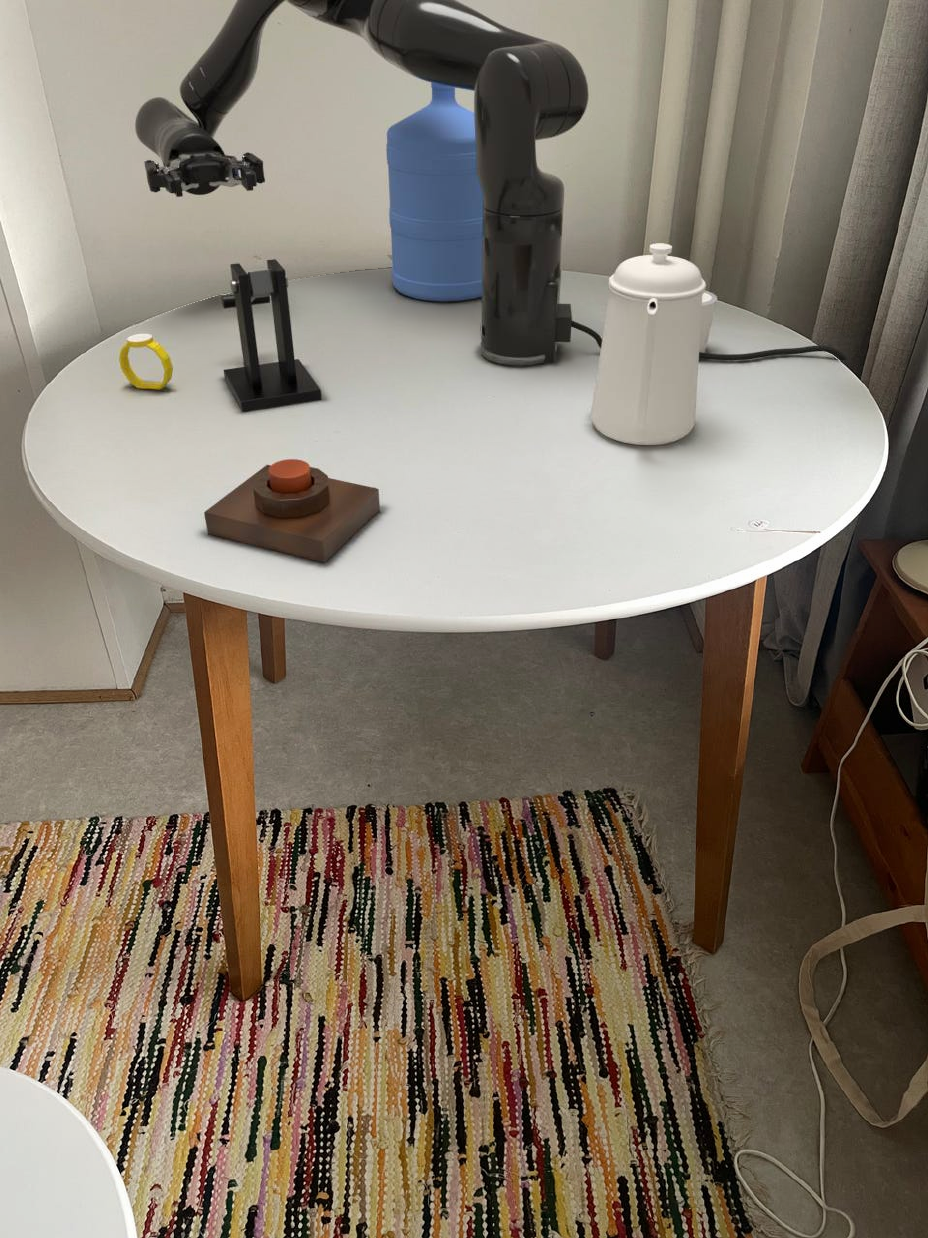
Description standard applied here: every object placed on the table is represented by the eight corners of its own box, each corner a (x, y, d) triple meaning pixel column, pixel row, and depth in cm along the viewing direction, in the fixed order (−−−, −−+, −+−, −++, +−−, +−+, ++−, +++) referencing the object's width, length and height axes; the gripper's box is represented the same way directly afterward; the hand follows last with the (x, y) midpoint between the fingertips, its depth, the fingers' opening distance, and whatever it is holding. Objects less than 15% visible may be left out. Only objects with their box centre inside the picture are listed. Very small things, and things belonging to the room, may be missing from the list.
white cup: (675, 338, 128) (681, 282, 124) (720, 352, 124) (729, 295, 120) (642, 352, 124) (648, 295, 120) (688, 366, 120) (695, 308, 116)
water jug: (472, 309, 137) (472, 79, 120) (372, 294, 142) (360, 72, 126) (516, 278, 148) (522, 63, 132) (422, 265, 154) (417, 57, 137)
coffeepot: (577, 477, 97) (590, 282, 86) (600, 379, 117) (614, 210, 106) (691, 488, 95) (719, 289, 84) (695, 386, 115) (718, 215, 104)
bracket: (224, 379, 117) (206, 258, 109) (299, 368, 120) (287, 250, 112) (242, 411, 110) (224, 285, 102) (321, 399, 112) (310, 275, 104)
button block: (380, 509, 92) (377, 470, 90) (324, 563, 84) (320, 522, 82) (269, 484, 96) (264, 446, 94) (207, 533, 88) (200, 493, 86)
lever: (224, 313, 118) (219, 292, 118) (269, 307, 120) (265, 286, 119) (238, 296, 106) (233, 272, 105) (288, 290, 108) (284, 267, 107)
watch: (180, 385, 116) (171, 335, 112) (167, 395, 113) (158, 344, 110) (134, 380, 117) (124, 330, 113) (121, 389, 115) (110, 338, 111)
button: (319, 481, 89) (317, 463, 88) (297, 499, 86) (295, 480, 85) (284, 473, 90) (282, 455, 89) (262, 491, 87) (260, 473, 86)
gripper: (131, 130, 128) (148, 155, 116) (241, 122, 132) (269, 146, 120) (142, 192, 132) (160, 222, 120) (249, 183, 137) (276, 211, 125)
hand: (214, 184), depth 120 cm, fingers open, 8 cm apart
